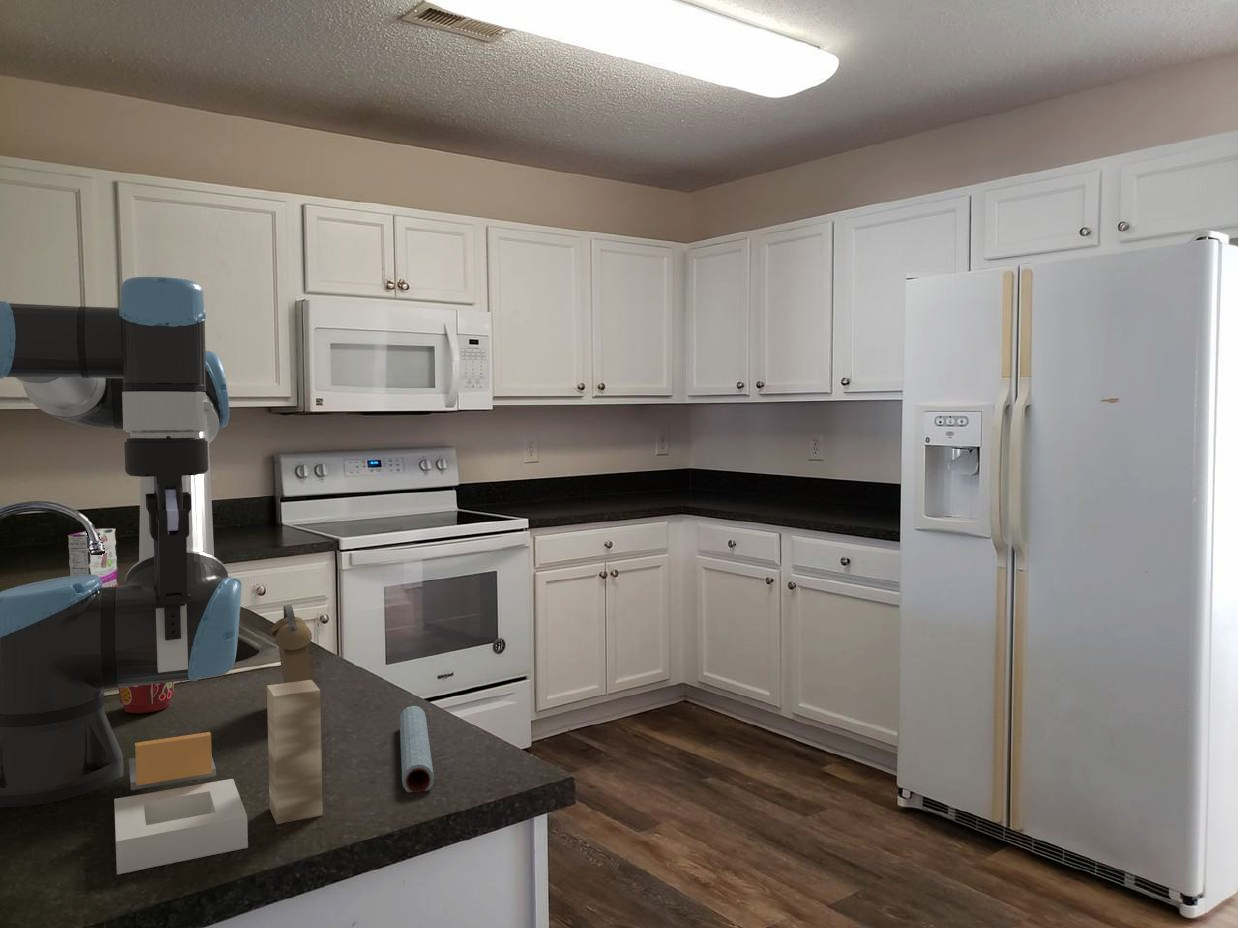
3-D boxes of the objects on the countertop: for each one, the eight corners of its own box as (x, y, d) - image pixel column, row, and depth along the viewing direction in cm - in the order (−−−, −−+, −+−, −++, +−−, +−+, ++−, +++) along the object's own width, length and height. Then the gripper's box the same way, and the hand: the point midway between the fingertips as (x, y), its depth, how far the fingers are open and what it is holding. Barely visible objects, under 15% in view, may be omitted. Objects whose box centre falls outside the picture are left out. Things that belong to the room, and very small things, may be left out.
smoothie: (189, 707, 135) (185, 567, 134) (127, 720, 129) (122, 574, 128) (165, 695, 141) (161, 561, 140) (104, 708, 135) (100, 568, 134)
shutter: (131, 794, 95) (129, 747, 95) (128, 765, 103) (127, 721, 103) (217, 779, 99) (216, 734, 99) (208, 752, 107) (207, 710, 107)
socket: (116, 874, 85) (115, 841, 85) (115, 828, 95) (114, 798, 94) (247, 847, 90) (247, 816, 90) (233, 806, 100) (233, 778, 100)
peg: (276, 824, 95) (273, 696, 95) (269, 808, 99) (266, 685, 99) (322, 814, 98) (320, 689, 97) (314, 799, 102) (311, 679, 101)
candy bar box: (97, 599, 219) (95, 528, 218) (119, 599, 219) (117, 528, 218) (69, 608, 208) (66, 534, 207) (91, 608, 208) (89, 534, 207)
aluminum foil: (399, 731, 125) (399, 706, 125) (450, 727, 127) (450, 702, 127) (402, 797, 103) (402, 766, 103) (464, 791, 105) (464, 761, 105)
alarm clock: (318, 719, 129) (315, 610, 128) (279, 724, 127) (277, 613, 126) (307, 698, 139) (305, 596, 138) (271, 702, 137) (269, 599, 136)
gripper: (214, 436, 91) (219, 679, 92) (201, 433, 102) (206, 650, 103) (125, 437, 87) (133, 690, 88) (122, 434, 99) (129, 659, 100)
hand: (172, 668), depth 96 cm, fingers closed
